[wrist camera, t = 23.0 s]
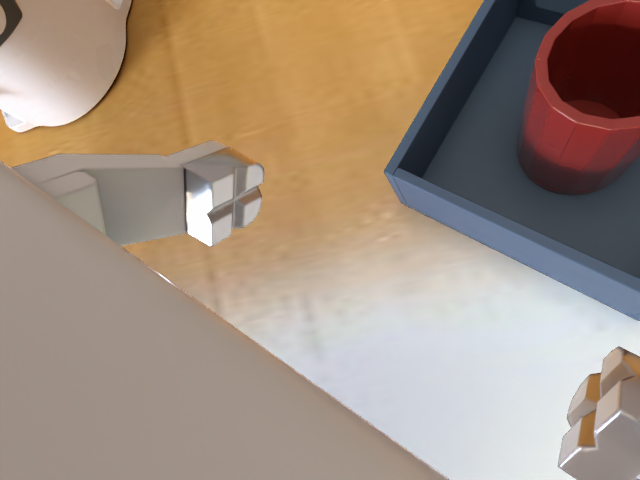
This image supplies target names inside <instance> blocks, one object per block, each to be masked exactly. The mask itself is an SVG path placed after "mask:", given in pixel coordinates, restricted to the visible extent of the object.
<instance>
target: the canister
mask: <svg viewBox="0 0 640 480" xmlns="http://www.w3.org/2000/svg"><path fill="white" fill-rule="evenodd" d="M517 157H518V161H519V164H520V166H521V168H522V170H523V171H524V173H525V174H526V175H527V177H528V178H529V179H530V180H531V181H533V182H534V183H535V184H536V185H538V186H540V187H541V188H543V189H545V190H547V191H550V192H553V193H557V194H562V195H584V194H589V193H593V192H596V191H599V190H601V189H603V188H605V187H607V186H609V185H610V184H612V183H614V182H615V181H616V180H617V179H618V178H619V177H620V176H621V175H622V174H623V173H624V172H625V171H626V170H627V169H628V168H629V167H630V166H631V165H632V164H633V163H634V162H635V161H636V160H637V159H638V158H639V157H640V0H589V1H587V2H585V3H584V4H582V5H580V6H578V7H576V8H574V9H572V10H570V11H569V12H567V13H566V14H564V15H563V16H562V17H561V18H560V19H559V20H558V21H557V22H556V23H555V25H554V26H553V27H552V28H551V29H550V30H549V31H548V32H547V33H546V34H545V36H544V37H543V40H542V43H541V45H540V48H539V50H538V53H537V55H536V58H535V61H534V66H533V70H532V75H531V79H530V84H529V88H528V93H527V97H526V102H525V106H524V110H523V115H522V119H521V124H520V128H519V133H518V138H517Z"/></svg>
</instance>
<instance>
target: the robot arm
mask: <svg viewBox="0 0 640 480" xmlns="http://www.w3.org/2000/svg"><path fill="white" fill-rule="evenodd" d="M131 1H132V0H0V109H1V110H2V113H3V116H4V119H5V122H6V124H7V126H8V127H9V128H11V129H13V130H14V131H16V132H19V133H20V132H24V131H27V130H30V129H32V128H34V127H36V126H60V125H64V124H68V123H70V122H72V121H74V120H76V119H78V118H80V117H81V116H83V115H84V114H86V113H87V112H88V111H89V110H91V109H92V108H93V107H94V106H95V105H96V104H97V103H98V102H99V101H100V100H101V99H102V97H103V96H104V95H105V94H106V92H107V91H108V89H109V88H110V86H111V85H112V83H113V81H114V79H115V78H116V76H117V73H118V71H119V69H120V66H121V63H122V60H123V57H124V52H125V47H126V18H127V15H128V12H129V9H130V5H131ZM263 182H264V168H263V167H262V165H261V164H260V163H258V162H256V161H254V160H252V159H250V158H248V157H247V156H245V155H243V154H241V153H239V152H237V151H235V150H234V149H231V148H230V147H228V146H226V145H224V144H222V143H220V142H217V141H213V140H211V141H208V142H205V143H202V144H199V145H196V146H194V147H191V148H188V149H185V150H182V151H179V152H176V153H174V154H171V155H168V156H165V157H164V156H162V155H160V154H57V155H53V156H50V157H47V158H43V159H40V160H36V161H33V162H29V163H26V164H22V165H19V166H15V167H12V168H10V167H9V166H7V165H6V164H4V163H3V162H2V161H0V480H449V479H448V478H446V477H445V476H444V475H442V474H441V473H439V472H438V471H437V470H435V469H434V468H432V467H431V466H430V465H428V464H427V463H425V462H424V461H423V460H421V459H420V458H418V457H417V456H415V455H414V454H413V453H411V452H410V451H408V450H407V449H406V448H404V447H403V446H401V445H400V444H399V443H397V442H396V441H394V440H393V439H392V438H390V437H389V436H387V435H386V434H385V433H383V432H382V431H380V430H379V429H378V428H376V427H375V426H373V425H372V424H370V423H369V422H368V421H366V420H365V419H363V418H362V417H361V416H359V415H358V414H356V413H355V412H354V411H352V410H351V409H349V408H348V407H347V406H345V405H344V404H342V403H341V402H340V401H338V400H337V399H335V398H334V397H333V396H331V395H330V394H328V393H327V392H325V391H324V390H323V389H321V388H320V387H318V386H317V385H316V384H314V383H313V382H311V381H310V380H309V379H307V378H306V377H304V376H303V375H302V374H300V373H299V372H297V371H296V370H295V369H293V368H292V367H290V366H289V365H287V364H286V363H285V362H283V361H282V360H280V359H279V358H278V357H276V356H275V355H273V354H272V353H271V352H269V351H268V350H266V349H265V348H264V347H262V346H261V345H259V344H258V343H256V342H255V341H254V340H252V339H251V338H249V337H248V336H247V335H245V334H244V333H242V332H241V331H240V330H238V329H237V328H235V327H234V326H233V325H231V324H230V323H228V322H227V321H226V320H224V319H223V318H221V317H220V316H218V315H217V314H216V313H214V312H213V311H211V310H210V309H209V308H207V307H206V306H204V305H203V304H202V303H200V302H199V301H197V300H196V299H195V298H193V297H192V296H190V295H189V294H188V293H186V292H185V291H183V290H182V289H180V288H179V287H178V286H176V285H175V284H173V283H172V282H171V281H169V280H168V279H166V278H165V277H164V276H162V275H161V274H159V273H158V272H157V271H155V270H154V269H152V268H151V267H149V266H148V265H147V264H145V263H144V262H142V261H141V260H140V259H138V258H137V257H135V256H134V255H133V254H131V253H130V252H128V251H127V250H126V249H124V248H123V247H121V246H123V245H129V244H134V243H139V242H144V241H149V240H154V239H160V238H165V237H170V236H175V235H180V234H185V233H186V232H187V233H189V234H190V235H192V236H194V237H196V238H197V239H199V240H201V241H202V242H204V243H206V244H207V245H209V246H211V247H212V246H214V245H215V244H217V243H219V242H220V241H222V240H224V239H225V238H227V237H229V236H230V235H231V233H232V229H235V228H244V227H245V226H247V225H248V224H250V223H252V221H253V220H254V219H255V217H256V216H257V215H258V213H259V210H260V208H261V204H262V195H261V192H260V190H259V186H260V185H261V184H262V183H263ZM567 420H568V422H569V424H570V426H571V429H570V430H569V431H568V432H567V433H566V434H565V435H564V436H563V439H562V444H561V450H560V455H559V461H558V466H557V467H559V468H560V469H562V470H563V471H565V472H566V473H568V474H569V475H571V476H572V477H574V478H575V479H577V480H640V357H639V356H637V355H635V354H633V353H631V352H629V351H627V350H625V349H623V348H621V347H619V346H618V347H617V348H615V349H614V350H612V351H611V352H610V353H609V354H608V355H607V356H606V357H605V358H604V359H603V365H602V371H601V373H596V374H590V375H589V376H588V377H587V378H586V379H585V380H584V381H583V383H582V384H581V385H580V386H579V388H578V390H577V391H576V393H575V395H574V396H573V398H572V401H571V404H570V406H569V410H568V414H567Z"/></svg>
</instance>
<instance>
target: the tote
mask: <svg viewBox="0 0 640 480" xmlns="http://www.w3.org/2000/svg"><path fill="white" fill-rule="evenodd" d="M587 1H589V0H484V1H483V3H482V5H481V6H480V8H479V10H478V12H477V13H476V15H475V17H474V18H473V20H472V22H471V24H470V25H469V27H468V29H467V30H466V32H465V34H464V35H463V37H462V39H461V41H460V42H459V44H458V46H457V47H456V49H455V51H454V52H453V54H452V56H451V58H450V59H449V61H448V63H447V64H446V66H445V68H444V70H443V71H442V73H441V75H440V76H439V78H438V80H437V81H436V83H435V85H434V87H433V88H432V90H431V92H430V93H429V95H428V97H427V98H426V100H425V102H424V104H423V105H422V107H421V109H420V110H419V112H418V114H417V116H416V117H415V119H414V121H413V122H412V124H411V126H410V127H409V129H408V131H407V133H406V134H405V136H404V138H403V139H402V141H401V143H400V144H399V146H398V148H397V150H396V151H395V153H394V155H393V156H392V158H391V160H390V162H389V163H388V165H387V167H386V168H385V170H384V173H385V175H386V177H387V179H388V180H389V182H390V184H391V186H392V187H393V189H394V191H395V193H396V195H397V196H398V198H399V200H400V202H401V203H402V204H404V205H406V206H408V207H410V208H412V209H414V210H416V211H418V212H420V213H422V214H424V215H426V216H428V217H430V218H432V219H434V220H436V221H438V222H440V223H442V224H444V225H446V226H448V227H450V228H452V229H454V230H456V231H458V232H460V233H462V234H464V235H466V236H468V237H470V238H472V239H474V240H476V241H478V242H480V243H482V244H484V245H486V246H488V247H490V248H493V249H495V250H497V251H499V252H501V253H503V254H505V255H507V256H509V257H511V258H513V259H515V260H517V261H519V262H521V263H523V264H525V265H527V266H529V267H531V268H533V269H535V270H537V271H539V272H541V273H543V274H545V275H547V276H549V277H551V278H553V279H555V280H557V281H559V282H561V283H563V284H565V285H567V286H569V287H571V288H573V289H575V290H577V291H579V292H581V293H583V294H585V295H587V296H589V297H591V298H593V299H595V300H597V301H599V302H601V303H603V304H605V305H607V306H609V307H611V308H613V309H615V310H617V311H619V312H622V313H624V314H626V315H628V316H630V317H632V318H634V319H636V320H638V321H640V157H639V158H638V159H637V160H636V161H635V162H634V163H633V164H632V165H631V166H630V167H629V168H628V169H627V170H626V171H625V172H624V173H623V174H622V175H621V176H620V177H619V178H618V179H617V180H616V181H615V182H614V183H612V184H610V185H609V186H607V187H605V188H603V189H601V190H599V191H596V192H593V193H589V194H584V195H562V194H557V193H553V192H550V191H547V190H545V189H543V188H541V187H540V186H538V185H536V184H535V183H534V182H533V181H531V180H530V179H529V178H528V177H527V175H526V174H525V173H524V171H523V170H522V168H521V166H520V164H519V161H518V157H517V138H518V133H519V128H520V124H521V119H522V115H523V110H524V106H525V102H526V97H527V93H528V88H529V84H530V79H531V75H532V70H533V66H534V61H535V58H536V55H537V53H538V50H539V48H540V45H541V43H542V40H543V37H544V36H545V34H546V33H547V32H548V31H549V30H550V29H551V28H552V27H553V26H554V25H555V23H556V22H557V21H558V20H559V19H560V18H561V17H562V16H563V15H564V14H566V13H567V12H569V11H570V10H572V9H574V8H576V7H578V6H580V5H582V4H584V3H585V2H587Z"/></svg>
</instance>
